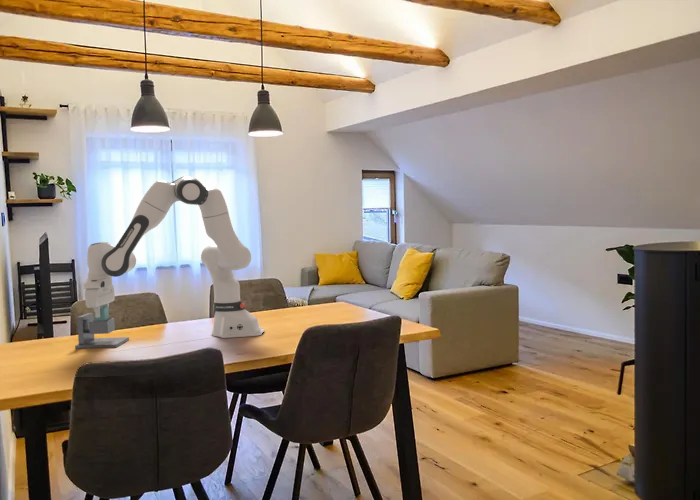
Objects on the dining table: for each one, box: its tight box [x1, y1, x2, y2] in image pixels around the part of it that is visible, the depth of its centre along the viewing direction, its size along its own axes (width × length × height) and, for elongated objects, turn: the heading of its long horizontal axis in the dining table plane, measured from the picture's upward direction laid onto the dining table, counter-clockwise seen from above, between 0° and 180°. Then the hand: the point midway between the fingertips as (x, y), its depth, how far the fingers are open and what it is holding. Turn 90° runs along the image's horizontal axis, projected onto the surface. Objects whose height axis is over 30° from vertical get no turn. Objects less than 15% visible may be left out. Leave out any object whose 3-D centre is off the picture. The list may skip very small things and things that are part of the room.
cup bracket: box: [74, 312, 130, 350], centre depth 229 cm, size 16×14×12 cm
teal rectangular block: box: [94, 306, 110, 321], centre depth 228 cm, size 4×4×9 cm
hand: (101, 315), depth 228 cm, fingers open, 5 cm apart
